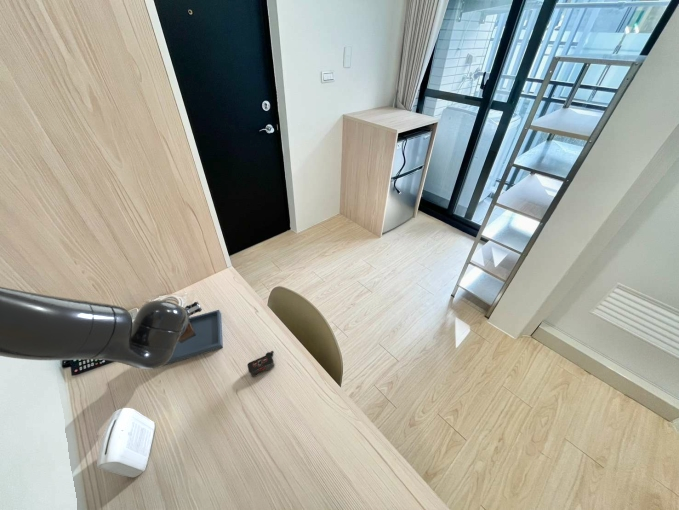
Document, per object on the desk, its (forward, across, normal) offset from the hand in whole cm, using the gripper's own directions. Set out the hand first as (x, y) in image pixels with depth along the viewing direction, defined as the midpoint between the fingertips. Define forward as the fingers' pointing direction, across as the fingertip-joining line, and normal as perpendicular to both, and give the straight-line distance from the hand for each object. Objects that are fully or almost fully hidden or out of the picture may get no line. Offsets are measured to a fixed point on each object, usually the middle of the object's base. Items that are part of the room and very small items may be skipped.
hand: (176, 316), depth 73 cm
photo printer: (-10, +17, +23) cm, 30 cm away
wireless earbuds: (-9, -13, +22) cm, 28 cm away
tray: (+5, 0, +8) cm, 9 cm away
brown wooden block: (+1, 0, +4) cm, 4 cm away
